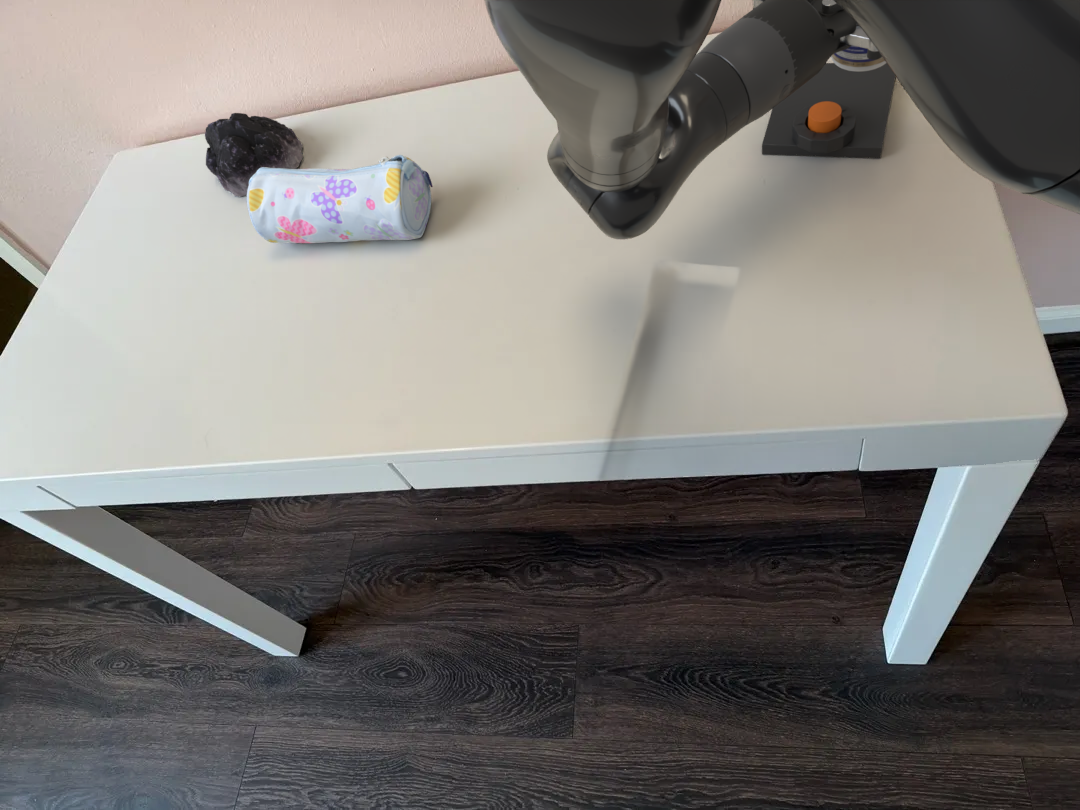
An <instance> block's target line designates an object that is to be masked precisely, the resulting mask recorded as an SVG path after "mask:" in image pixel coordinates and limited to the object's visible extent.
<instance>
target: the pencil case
mask: <svg viewBox="0 0 1080 810" xmlns="http://www.w3.org/2000/svg"><path fill="white" fill-rule="evenodd" d="M433 187H434V186H433V183H432V179H431V178H430V175H429V172H427V171H426V170H424V169H422V167H421V166H420V165H419V164H418V163H416V162H415V161H414V160H413V159H412V158H409V156H405V155H403V154H397V155H394V156H393V157H391V158H389V157H388V156H383V157H381V158H380V159H379V160H378V163H377V164H372V165H365V166H360V167H356V168H352V169H346V168H345V169H343V168H342V169H341V168H296V169H283V168H267V167H262V168H259V169H258V170H257V172H256V173H255V174H254V175H253V176H252V177H251V178H250V180H249V186H248V190H247V195H246V206H247V211H248V216H249V219H250V221H251V225H252V226H253V228H254V230H255V231H256V232H257V234H258V235H259V236H260V237H261V238H263V239H264V240H266V241H267V242H268V243H273V244H287V243H288V244H319V243H320V244H321V243H322V244H323V243H347V242H359V241H408V240H409V241H411V240H415V239H420V238H422V237H423V235H424V233H425V230H426V228H427V224H428V222H429V219H430V215H431V214H430V213H431V207H432V192H431V191H432V190H431V188H433Z"/></svg>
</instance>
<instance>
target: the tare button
mask: <svg viewBox="0 0 1080 810" xmlns="http://www.w3.org/2000/svg"><path fill="white" fill-rule="evenodd" d="M841 112H842V109H841V107H840V106H839V105H838V104H837V103H834V102H830V101H825V102H819V103H817V104H815V105H813V106H812V107H811V108H810V110H809V114H808V127H809V129H810V130H811V131H813V132H815V133H829V132H832V131H835V130H836V129H837V128H838V127H839V126H840V122H841Z"/></svg>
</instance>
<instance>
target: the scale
mask: <svg viewBox="0 0 1080 810" xmlns="http://www.w3.org/2000/svg"><path fill="white" fill-rule="evenodd" d="M896 78H897V77H896V76H895V75H894V73H893V72H892V70H891V69H890V67H889V66H888V64H887V63H886V64H884V65H883V66H881V67H879V68H876V69H873V70H869V71H860V72H857V71H848V70H845V69H842V68H840V67H838V66H837V65H836V64H835V63H834V62H826V64H825V65H824V66H823V68H822V69H821V70H820V71H819V73H818V74H816V75H815V76H814V77H813V78H811V79H810V80H809V81H807V82H806V83H805V84H804V85H802V86H801V87H800V88H798V89H797V90H796V91H795V92H793V93H792V94H791V95H789V96H788V97H787V98H786V99H784V100H783V101H782V102H780V103H779V104H778V105H776V106H775V107H774V108H773V109H771V112H770V115H769V119H768V122H767V125H766V130H765V132H764V137H763V139H762V143H761V155H763V156H792V157H793V156H794V157H818V158H819V157H821V158H847V159H849V158H850V159H851V158H852V159H882V153H883V149H884V144H885V143H884V142H885V136H886V132H887V127H888V121H889V115H890V109H891V104H892V99H893V93H894V88H895V82H896ZM825 101H830V102H834V103H837V104H838V105H839V106H840V107H841V109H842V112H841V122H840V126H839V127H838V128H837V129H836V130H835V131H832V132H829V133H815V132H813V131H811V130H810V129H809V127H808V114H809V110H810V108H811V107H812V106H813V105H815V104H817V103H819V102H825Z"/></svg>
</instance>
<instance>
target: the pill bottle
mask: <svg viewBox="0 0 1080 810" xmlns="http://www.w3.org/2000/svg"><path fill="white" fill-rule="evenodd" d="M867 51H868V49H866V48H862V47H857V46H853V45H852V46H850V47H849V48H848V49H846V50H843V51H840V52H837V53H835V54H833V55H832V56H831V57H830V59H831V61H832V63H835V64H836V65H837V66H838V67H840V68H842V69H845V70H848V71H857V72H860V71H869V70H873V69H876V68H879V67H881V66H883V65H884V64H886V61H885V60H884V58H883V57H881V58H880V59H877V60H871V59H868V58H867Z"/></svg>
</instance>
